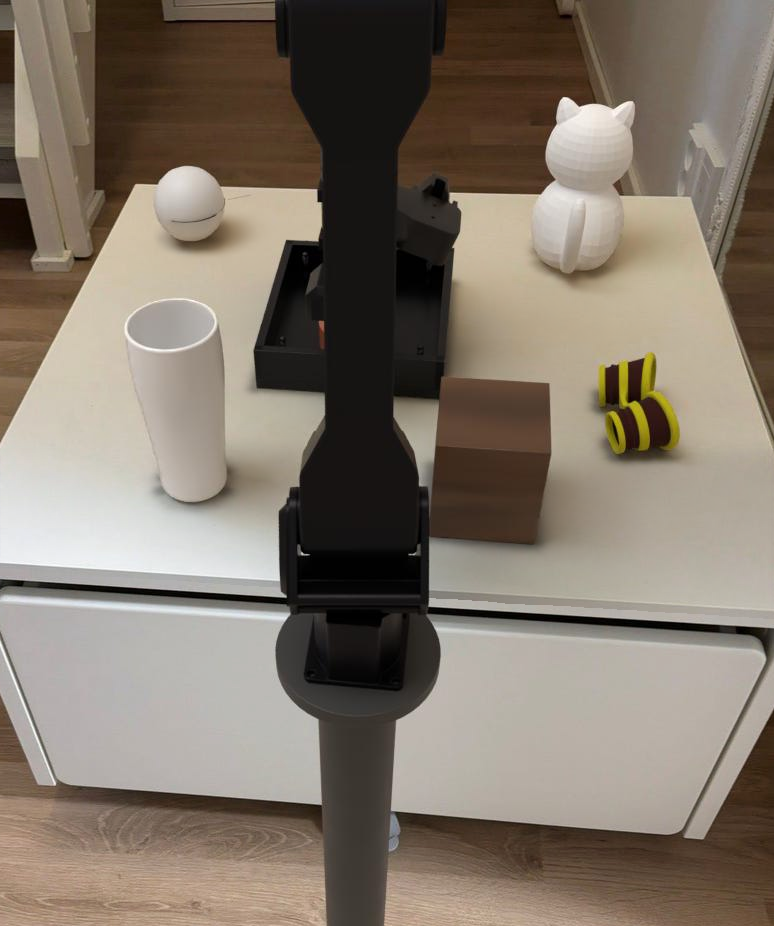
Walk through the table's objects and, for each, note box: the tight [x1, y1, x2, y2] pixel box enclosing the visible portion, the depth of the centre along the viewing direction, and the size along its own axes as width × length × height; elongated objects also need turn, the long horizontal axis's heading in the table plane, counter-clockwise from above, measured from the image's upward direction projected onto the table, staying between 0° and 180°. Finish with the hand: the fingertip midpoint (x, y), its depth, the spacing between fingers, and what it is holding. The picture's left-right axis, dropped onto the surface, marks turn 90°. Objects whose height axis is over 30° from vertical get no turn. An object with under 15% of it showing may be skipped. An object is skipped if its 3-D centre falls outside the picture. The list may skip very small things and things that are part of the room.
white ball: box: [153, 165, 251, 242], centre depth 106 cm, size 10×7×7 cm
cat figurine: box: [530, 96, 636, 274], centre depth 98 cm, size 9×12×15 cm
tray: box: [252, 239, 455, 400], centre depth 94 cm, size 18×16×4 cm
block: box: [429, 376, 553, 545], centre depth 77 cm, size 8×8×9 cm
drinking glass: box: [123, 297, 228, 503], centre depth 77 cm, size 7×7×15 cm
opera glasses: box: [598, 352, 681, 455], centre depth 85 cm, size 10×5×5 cm, turn 179°
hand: (355, 333), depth 92 cm, fingers closed on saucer, 7 cm apart
